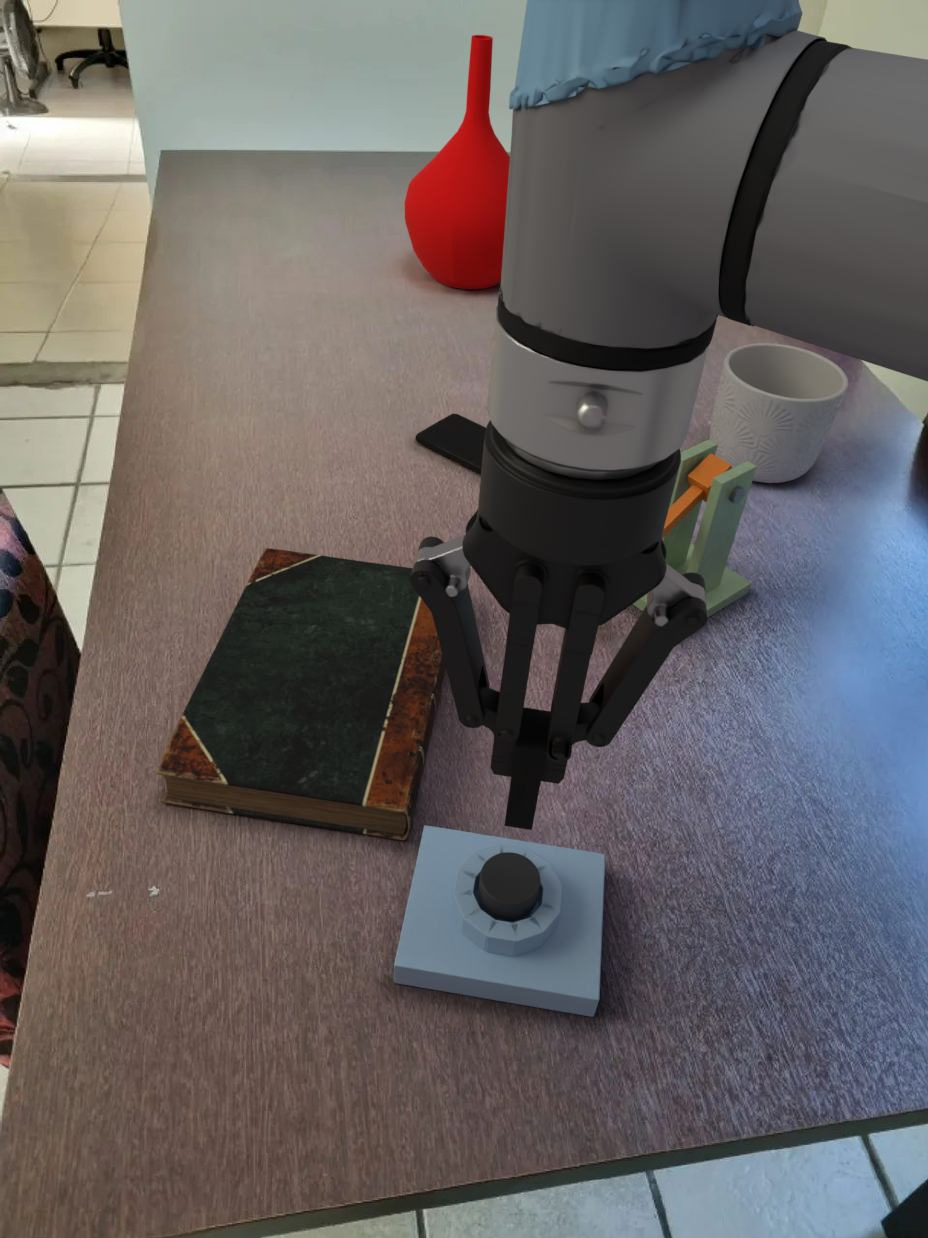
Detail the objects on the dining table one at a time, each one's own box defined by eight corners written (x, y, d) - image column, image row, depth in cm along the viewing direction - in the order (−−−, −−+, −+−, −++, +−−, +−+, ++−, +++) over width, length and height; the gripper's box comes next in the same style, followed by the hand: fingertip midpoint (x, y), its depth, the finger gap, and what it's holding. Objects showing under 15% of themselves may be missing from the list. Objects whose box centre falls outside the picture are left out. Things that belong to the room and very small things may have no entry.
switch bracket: (676, 636, 80) (715, 504, 71) (609, 587, 85) (637, 456, 76) (748, 592, 85) (793, 463, 76) (681, 548, 90) (716, 421, 81)
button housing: (600, 872, 63) (610, 837, 60) (593, 1018, 55) (604, 985, 52) (423, 843, 63) (425, 807, 61) (393, 983, 56) (393, 949, 53)
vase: (418, 306, 127) (425, 53, 107) (392, 253, 140) (394, 19, 120) (546, 299, 131) (576, 55, 111) (510, 249, 144) (531, 22, 124)
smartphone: (524, 491, 94) (412, 435, 100) (523, 498, 94) (412, 441, 101) (564, 463, 98) (454, 411, 104) (563, 470, 98) (453, 417, 105)
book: (267, 577, 83) (160, 804, 64) (264, 545, 81) (151, 771, 62) (462, 604, 82) (409, 843, 63) (464, 572, 80) (410, 810, 61)
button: (539, 873, 58) (543, 856, 57) (534, 925, 55) (537, 909, 54) (482, 863, 58) (484, 847, 57) (474, 915, 56) (476, 899, 55)
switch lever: (622, 608, 76) (615, 585, 73) (591, 585, 78) (582, 561, 75) (740, 490, 78) (738, 464, 75) (706, 471, 80) (703, 444, 77)
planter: (826, 499, 98) (862, 405, 90) (707, 489, 98) (734, 394, 90) (802, 437, 107) (833, 347, 99) (693, 427, 107) (716, 337, 100)
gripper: (395, 459, 33) (389, 846, 49) (768, 509, 32) (639, 887, 48) (431, 362, 39) (415, 737, 54) (750, 403, 38) (640, 772, 54)
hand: (520, 807), depth 51 cm, fingers closed
